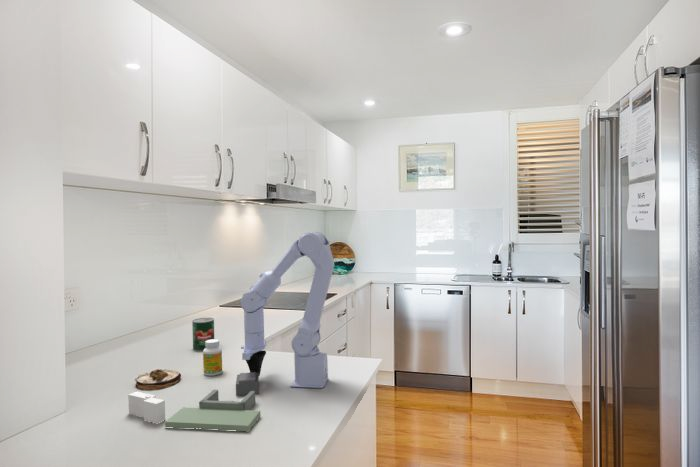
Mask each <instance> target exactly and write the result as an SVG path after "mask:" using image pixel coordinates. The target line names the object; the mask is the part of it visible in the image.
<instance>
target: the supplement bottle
mask: <svg viewBox="0 0 700 467" xmlns="http://www.w3.org/2000/svg"><path fill="white" fill-rule="evenodd" d="M205 346H206V348H205V349H204V350H203V353H202V360H203V362H202V363H203V364H202V366H203V375H204V376H210V377H211V376H212V377H213V376H217V375H220V374H222V373H223V350H222V347H220V340H219V339H217V338H216V339H215V338H214V339H211V340H207V341H205Z"/></svg>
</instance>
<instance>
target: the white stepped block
mask: <svg viewBox="0 0 700 467" xmlns="http://www.w3.org/2000/svg"><path fill="white" fill-rule="evenodd" d="M127 396H128V415H131V414H133V415H132V416H135V415H136V416H135V417H139V416H141V417H140V418H143V417H144V418H143V419H144V420H146V421H150V422H154V423H159V422H161V421H163V420H165V421H166V400H164V399H161V398H156V395H155V394H150V393H146V392H141V391H135V392H132V393H129V394H128V395H127ZM144 420H143V421H144ZM146 421H145V422H146ZM150 422H149V423H150ZM163 422H164V421H163ZM154 423H153V424H154ZM161 423H162V422H161ZM159 424H160V423H159Z"/></svg>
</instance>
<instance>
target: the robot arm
mask: <svg viewBox="0 0 700 467" xmlns="http://www.w3.org/2000/svg"><path fill="white" fill-rule="evenodd" d="M330 244H331V243H330V241H329V240H328V238H327V237H326V236H325V235H324V234H323V232H320V231H313V232H311V231H310V232H304V233H302V234H301V235H300V236H299V239H297V240H295V241H294V242H293V243H292V244H291V246H290V247H289V248H288V249H287V251H286V252H285V253H284V254H283V256H282V257H281V258H280V260H278V263H277V264H276V265H275V266H274V268H272V270H268V271H267V270H266V271H265V272H262V273H260V275H258V277H259V279H258V280H257V281H256V282H255V284H254V285H251V286H250V287H249V290H250V291H247V292H244V293H243V294H242V297H241V299H240V307H241V308H242V310H243V319H244V320H243V323H244V324H243V325H244V328H243V329H244V332H243V333H244V344H243V345H241V346H240V349H242V350H243V352H242V356H241V357H242V358H241V359H242V360H243V361H244V360H245V362H246V364H247V367H248V370H249V373H250V372H256V373H259V377H260V375H261V371H262V365H263V362H264V359H265V356H266V354H267V351H266V350H265V349H266V347H267V339H265V319H264V318H265V315H264V313H265V312H264V308H265V306H266V304H267V300H269V298H270V297H271V296H272V295H273V293H274V292H276V290H277V289H278V288H279V286H280V285H281V283H282V276H283V275H285V273H286V272H287V271H288V270H290V268H291V267H292V266H293V265H294V264H295V263H296V261H298V259H300V258H303V257H307V258H309V260H310V261H311V262H312V264H313V265H314V267H315V271H314V274H313V278H312V282H311V285H310V290H309V294H308V298H307V302H306V306H305V310H304V312H303V317H302V321H301V323H300V324H299V326H298V330H297V333H296V334H295V335H294V337H293V338H292V340H291V348H292V350H293V352H294V354H293V356H294V380H293V382H292V383H291V384H290V387H291V388H311V389H312V388H314V389H323V388H325V386H326V383H327V382H328V380H329V377H328V376H329V372H328V369H329V368H328V367H329V366H328V355H327V354H328V353H325V352H320V349H319V347H318V346H319V343H320V342H321V331H320V330H321V326H322V325H321V320H322V319H321V318H322V314H323V312H324V311H323V310H324V308H325V303H326V299H327V296H328V293H329V292H328V291H329V289H330V288H329V287H330V284H331V280H332V275H333V272H334V268H335V260H334V256H333V253H332V250H331V246H330Z"/></svg>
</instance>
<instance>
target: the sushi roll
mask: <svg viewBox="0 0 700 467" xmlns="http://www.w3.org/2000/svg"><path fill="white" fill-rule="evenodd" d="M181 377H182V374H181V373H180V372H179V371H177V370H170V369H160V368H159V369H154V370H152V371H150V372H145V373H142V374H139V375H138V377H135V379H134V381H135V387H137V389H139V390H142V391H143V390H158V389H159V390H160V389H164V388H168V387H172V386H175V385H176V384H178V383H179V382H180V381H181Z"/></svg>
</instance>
